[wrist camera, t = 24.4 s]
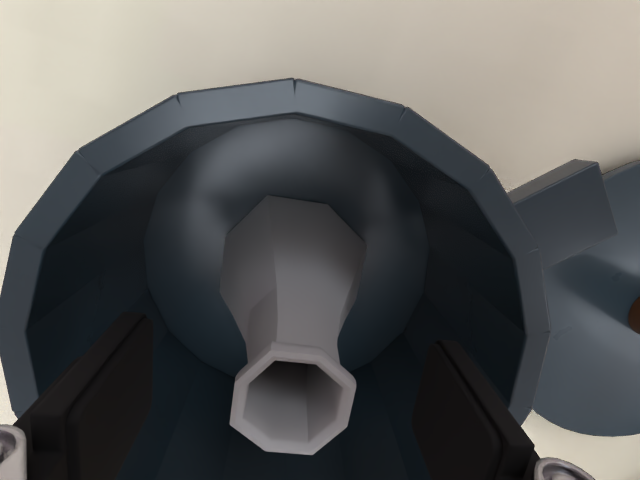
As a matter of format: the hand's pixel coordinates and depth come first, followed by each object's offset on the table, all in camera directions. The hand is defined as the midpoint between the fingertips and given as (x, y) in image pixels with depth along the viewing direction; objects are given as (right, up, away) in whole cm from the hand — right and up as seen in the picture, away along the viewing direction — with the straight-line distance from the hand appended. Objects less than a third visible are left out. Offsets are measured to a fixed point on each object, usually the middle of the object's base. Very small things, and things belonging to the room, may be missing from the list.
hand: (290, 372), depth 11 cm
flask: (0, +3, +8) cm, 9 cm away
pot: (-1, +3, +9) cm, 9 cm away
